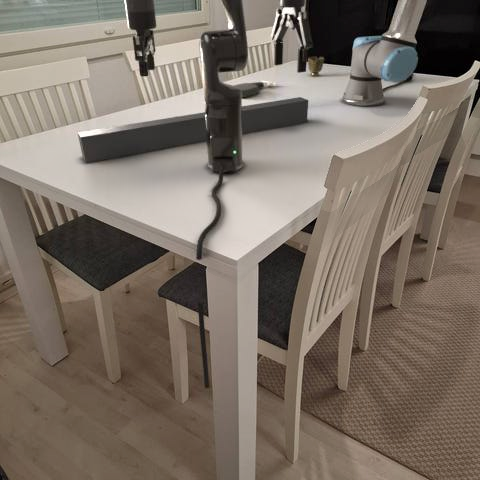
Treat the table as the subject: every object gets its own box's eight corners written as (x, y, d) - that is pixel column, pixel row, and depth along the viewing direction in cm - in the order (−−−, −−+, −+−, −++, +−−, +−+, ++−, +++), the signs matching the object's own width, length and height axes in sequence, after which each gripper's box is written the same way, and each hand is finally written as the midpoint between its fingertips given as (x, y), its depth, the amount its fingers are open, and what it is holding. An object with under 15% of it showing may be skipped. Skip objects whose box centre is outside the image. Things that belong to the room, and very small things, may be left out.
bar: (86, 163, 123) (80, 137, 119) (82, 157, 127) (77, 132, 123) (307, 122, 151) (308, 100, 147) (299, 118, 155) (300, 96, 151)
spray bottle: (223, 95, 183) (259, 84, 199) (243, 99, 177) (279, 87, 193) (222, 87, 181) (259, 77, 197) (243, 91, 175) (279, 80, 191)
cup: (304, 76, 210) (305, 58, 205) (310, 73, 215) (311, 55, 211) (319, 77, 207) (321, 59, 202) (324, 74, 212) (326, 56, 208)
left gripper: (148, 11, 112) (155, 78, 121) (159, 6, 124) (165, 67, 133) (118, 12, 113) (128, 78, 121) (133, 6, 125) (140, 67, 133)
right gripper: (329, -8, 122) (322, 73, 133) (281, -11, 141) (279, 60, 152) (306, -6, 119) (301, 76, 130) (260, -10, 138) (259, 62, 149)
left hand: (148, 72), depth 127 cm, fingers open, 8 cm apart
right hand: (289, 68), depth 141 cm, fingers open, 13 cm apart
